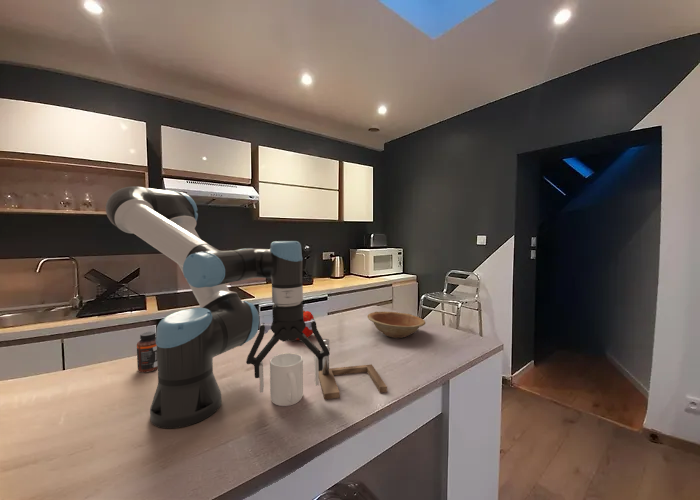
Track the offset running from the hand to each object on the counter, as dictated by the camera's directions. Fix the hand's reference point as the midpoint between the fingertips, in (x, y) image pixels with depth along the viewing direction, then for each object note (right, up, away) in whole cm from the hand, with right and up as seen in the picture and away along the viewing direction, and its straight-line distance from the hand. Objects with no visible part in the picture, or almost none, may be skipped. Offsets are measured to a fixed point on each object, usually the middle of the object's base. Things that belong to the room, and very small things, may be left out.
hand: (289, 386), depth 77 cm
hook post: (+8, -2, +11) cm, 14 cm away
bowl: (+34, -1, +50) cm, 61 cm away
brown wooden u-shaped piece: (+15, -4, +10) cm, 19 cm away
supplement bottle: (-48, -3, +18) cm, 51 cm away
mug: (0, -4, +1) cm, 4 cm away
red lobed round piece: (-6, -1, +46) cm, 47 cm away
